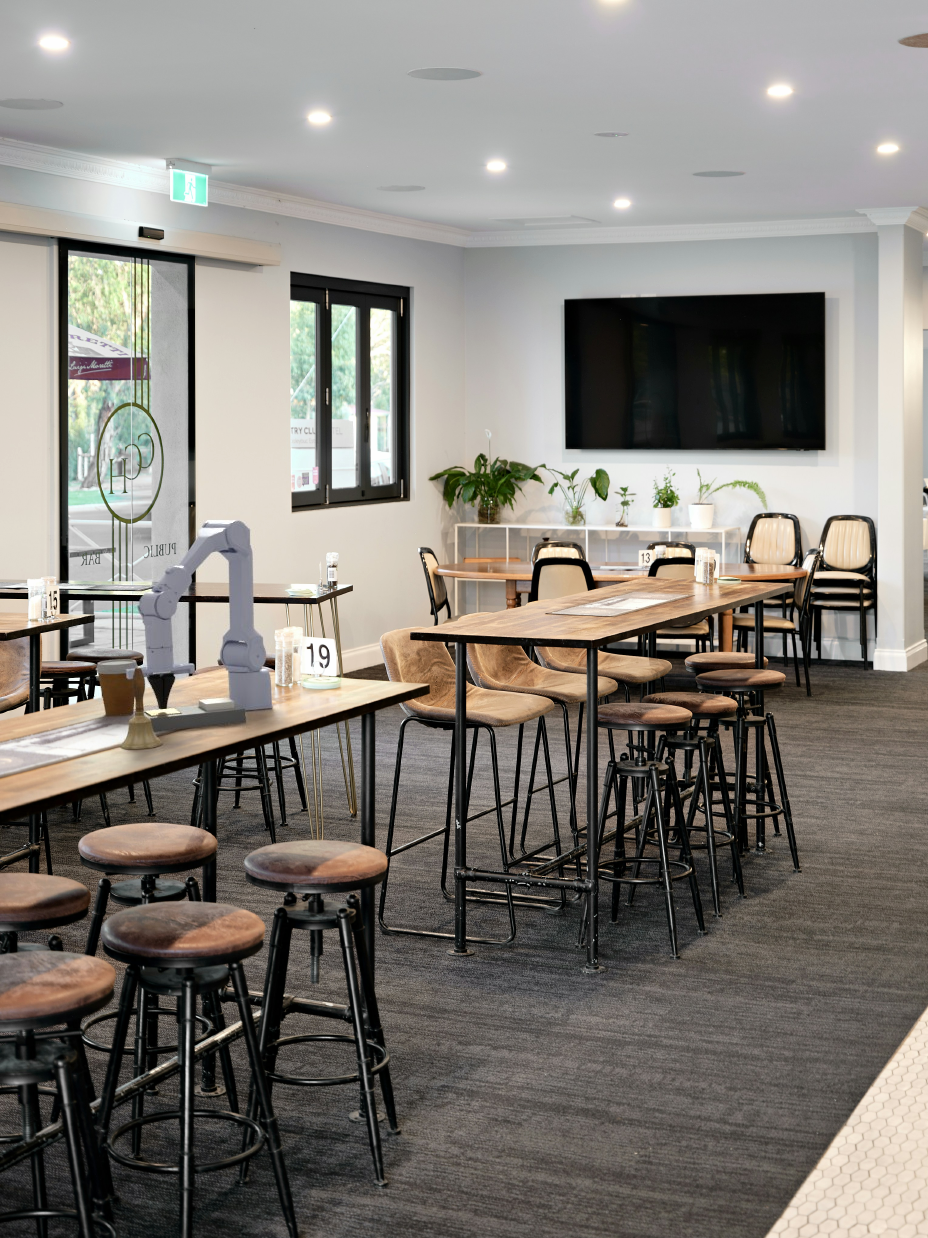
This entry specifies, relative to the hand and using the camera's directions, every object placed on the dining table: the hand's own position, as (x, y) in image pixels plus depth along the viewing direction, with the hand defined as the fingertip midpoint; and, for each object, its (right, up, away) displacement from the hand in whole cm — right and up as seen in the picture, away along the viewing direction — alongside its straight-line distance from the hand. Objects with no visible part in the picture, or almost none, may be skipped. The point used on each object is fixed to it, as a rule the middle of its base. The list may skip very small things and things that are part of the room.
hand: (162, 708), depth 321 cm
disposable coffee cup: (-14, -2, +18) cm, 23 cm away
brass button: (0, -4, 0) cm, 4 cm away
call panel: (+6, -3, +3) cm, 7 cm away
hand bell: (0, -7, -20) cm, 21 cm away
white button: (+11, -2, +5) cm, 12 cm away
